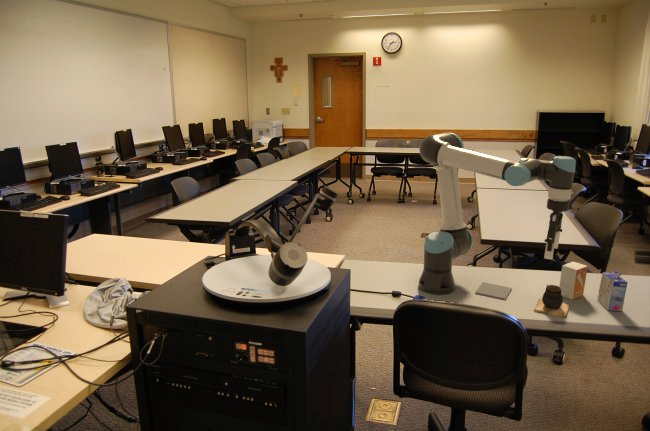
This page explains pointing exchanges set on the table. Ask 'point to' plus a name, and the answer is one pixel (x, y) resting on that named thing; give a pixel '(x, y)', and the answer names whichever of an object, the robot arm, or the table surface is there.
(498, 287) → the felt pad
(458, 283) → the table surface
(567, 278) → the small box
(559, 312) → the square wooden coaster
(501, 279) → the table surface
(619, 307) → the ink cartridge box
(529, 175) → the robot arm
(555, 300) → the mate gourd
